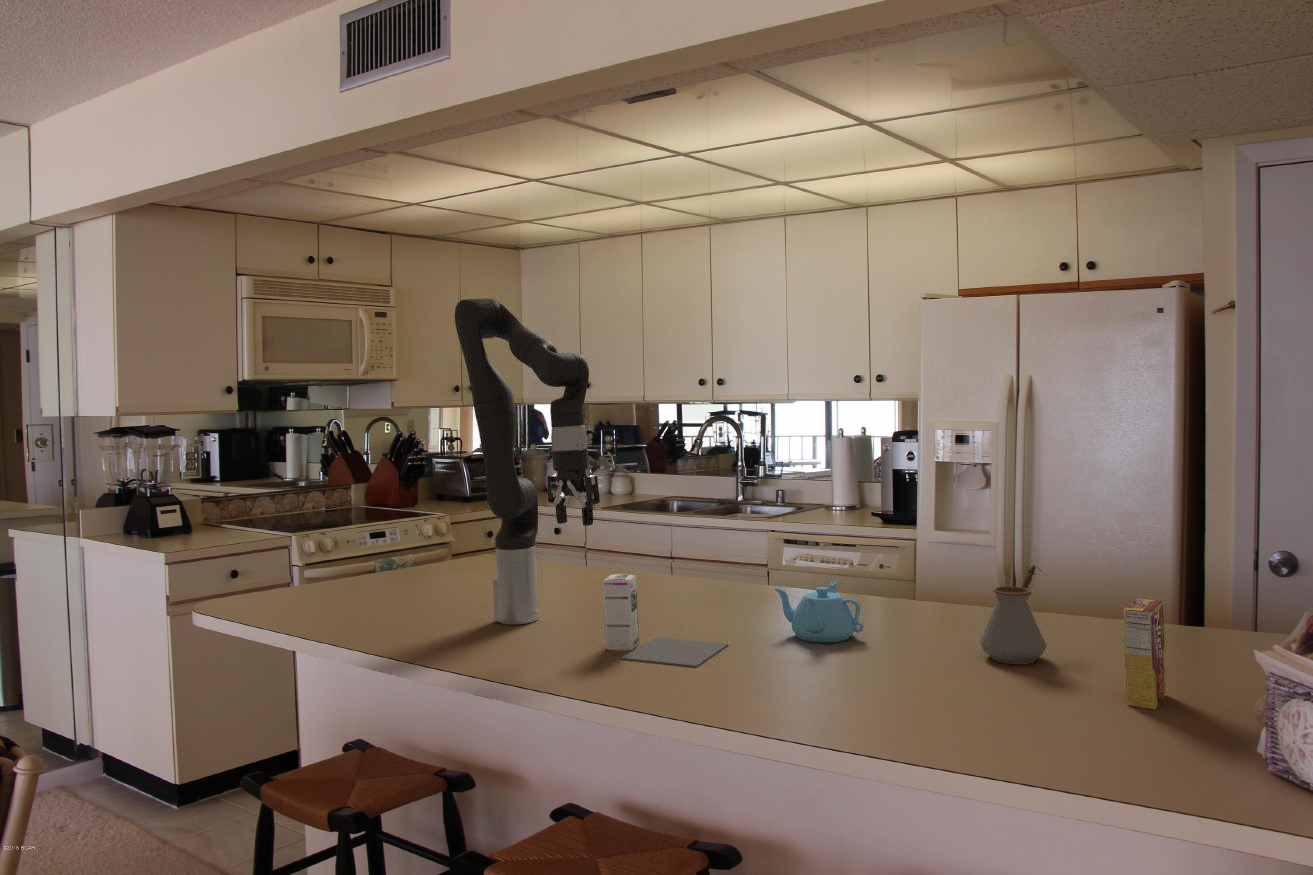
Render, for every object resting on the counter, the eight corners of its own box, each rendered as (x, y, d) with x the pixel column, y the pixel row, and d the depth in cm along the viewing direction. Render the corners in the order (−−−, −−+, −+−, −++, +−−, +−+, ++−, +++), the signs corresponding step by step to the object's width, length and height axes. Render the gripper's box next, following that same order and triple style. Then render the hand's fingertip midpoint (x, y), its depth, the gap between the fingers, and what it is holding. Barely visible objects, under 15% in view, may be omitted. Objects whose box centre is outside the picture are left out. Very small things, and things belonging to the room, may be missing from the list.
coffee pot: (1036, 671, 159) (1035, 586, 158) (971, 661, 166) (969, 580, 165) (1067, 643, 176) (1066, 567, 175) (1006, 635, 183) (1005, 562, 182)
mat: (621, 658, 175) (620, 657, 175) (657, 638, 189) (657, 637, 189) (696, 667, 168) (696, 665, 168) (728, 645, 182) (728, 643, 182)
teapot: (873, 641, 182) (872, 591, 182) (807, 649, 177) (806, 598, 177) (836, 625, 196) (835, 578, 196) (773, 632, 191) (772, 584, 191)
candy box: (1137, 690, 147) (1136, 597, 147) (1167, 695, 144) (1166, 600, 144) (1123, 705, 140) (1122, 608, 140) (1154, 710, 138) (1153, 611, 137)
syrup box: (633, 650, 180) (630, 579, 180) (604, 650, 182) (602, 578, 181) (639, 643, 186) (637, 573, 185) (611, 642, 187) (609, 573, 187)
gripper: (534, 449, 192) (540, 525, 193) (577, 448, 182) (583, 528, 183) (562, 447, 198) (567, 520, 198) (605, 446, 187) (610, 523, 188)
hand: (574, 524), depth 190 cm, fingers open, 8 cm apart
